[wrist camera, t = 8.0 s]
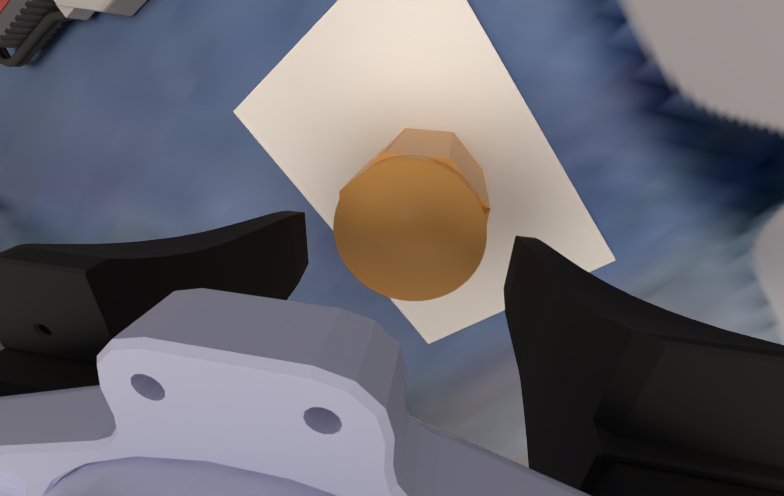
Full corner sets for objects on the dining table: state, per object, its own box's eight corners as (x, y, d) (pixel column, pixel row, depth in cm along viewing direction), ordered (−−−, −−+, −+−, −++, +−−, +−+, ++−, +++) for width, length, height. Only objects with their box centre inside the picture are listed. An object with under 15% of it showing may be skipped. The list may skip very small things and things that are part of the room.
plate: (607, 249, 19) (646, 298, 15) (429, 332, 24) (423, 385, 20) (421, -74, 15) (404, -130, 11) (245, 109, 19) (187, 119, 15)
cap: (370, 227, 20) (334, 291, 14) (373, 124, 17) (330, 151, 12) (469, 240, 19) (473, 311, 14) (488, 134, 17) (502, 168, 11)
